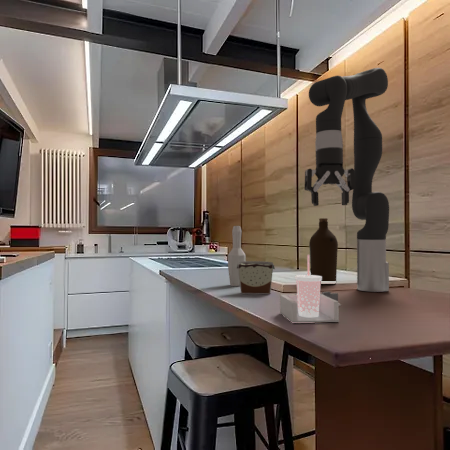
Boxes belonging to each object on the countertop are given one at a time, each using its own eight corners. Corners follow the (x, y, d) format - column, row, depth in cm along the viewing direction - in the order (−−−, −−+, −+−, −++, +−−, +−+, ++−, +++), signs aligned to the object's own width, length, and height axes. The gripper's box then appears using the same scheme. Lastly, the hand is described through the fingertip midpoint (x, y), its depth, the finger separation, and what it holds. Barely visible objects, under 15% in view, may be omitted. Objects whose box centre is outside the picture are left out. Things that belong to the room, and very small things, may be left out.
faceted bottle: (234, 283, 142) (234, 226, 142) (248, 285, 138) (248, 225, 139) (224, 285, 137) (224, 225, 137) (239, 287, 133) (239, 225, 134)
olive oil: (342, 283, 144) (341, 218, 145) (331, 286, 136) (330, 217, 136) (316, 280, 151) (316, 219, 151) (304, 283, 142) (304, 218, 143)
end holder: (321, 312, 92) (321, 293, 92) (338, 322, 81) (338, 301, 81) (280, 313, 91) (280, 294, 91) (292, 324, 80) (292, 302, 80)
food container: (274, 291, 125) (274, 261, 125) (275, 294, 119) (274, 262, 119) (237, 290, 126) (237, 260, 126) (236, 293, 120) (236, 262, 120)
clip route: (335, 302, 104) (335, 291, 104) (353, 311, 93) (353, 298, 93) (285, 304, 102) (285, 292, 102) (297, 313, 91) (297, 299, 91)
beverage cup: (327, 317, 84) (327, 255, 84) (303, 319, 82) (303, 255, 83) (313, 311, 90) (313, 253, 90) (290, 313, 88) (290, 254, 88)
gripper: (346, 151, 111) (348, 206, 111) (300, 151, 109) (301, 206, 109) (358, 146, 104) (360, 204, 103) (309, 145, 102) (310, 205, 102)
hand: (330, 205), depth 106 cm, fingers open, 8 cm apart
